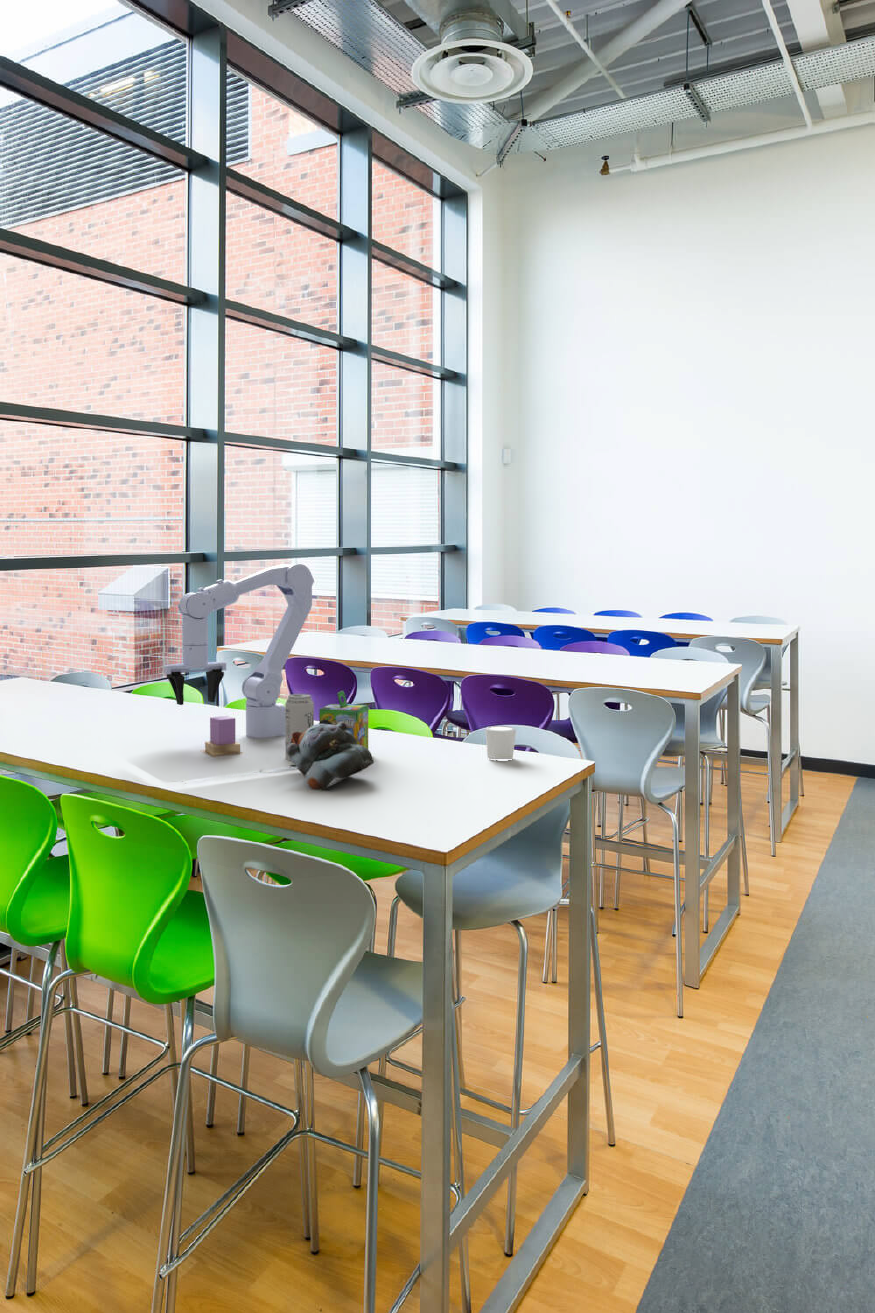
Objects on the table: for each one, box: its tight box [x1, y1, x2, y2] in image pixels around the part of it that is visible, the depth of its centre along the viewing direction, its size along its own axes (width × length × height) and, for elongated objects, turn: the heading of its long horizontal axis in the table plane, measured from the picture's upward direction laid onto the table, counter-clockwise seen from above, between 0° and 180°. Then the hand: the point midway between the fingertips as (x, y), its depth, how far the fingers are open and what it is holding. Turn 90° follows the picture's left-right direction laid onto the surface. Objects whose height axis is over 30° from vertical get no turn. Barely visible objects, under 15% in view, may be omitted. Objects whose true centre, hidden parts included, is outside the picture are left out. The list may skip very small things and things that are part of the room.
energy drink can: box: [284, 693, 315, 768], centre depth 192 cm, size 6×6×15 cm
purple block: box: [209, 715, 236, 745], centre depth 198 cm, size 4×4×6 cm
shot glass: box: [485, 725, 517, 760], centre depth 202 cm, size 7×7×7 cm
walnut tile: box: [200, 749, 244, 757], centre depth 198 cm, size 7×7×2 cm
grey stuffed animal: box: [286, 719, 375, 791], centre depth 178 cm, size 15×12×14 cm
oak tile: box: [204, 740, 241, 757], centre depth 198 cm, size 6×6×2 cm
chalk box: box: [319, 690, 369, 750], centre depth 201 cm, size 9×9×15 cm
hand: (195, 703), depth 208 cm, fingers open, 7 cm apart
